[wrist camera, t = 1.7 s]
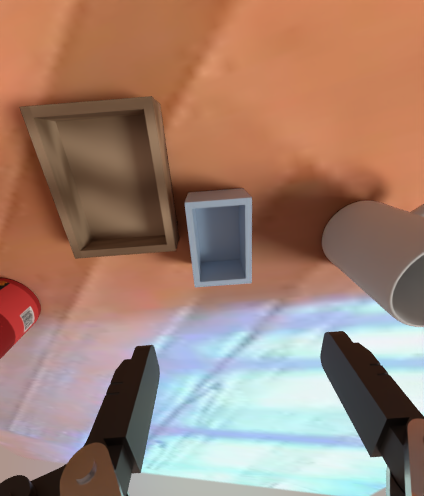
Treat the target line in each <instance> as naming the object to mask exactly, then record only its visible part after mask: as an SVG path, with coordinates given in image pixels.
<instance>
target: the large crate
mask: <svg viewBox="0 0 424 496" xmlns="http://www.w3.org/2000/svg"><path fill="white" fill-rule="evenodd" d="M20 110H21V113H22V116H23V118H24V121H25V124H26V126H27V129H28V132H29V135H30V137H31V140H32V143H33V145H34V148H35V151H36V154H37V156H38V159H39V162H40V164H41V167H42V170H43V173H44V175H45V178H46V181H47V183H48V186H49V189H50V192H51V194H52V197H53V200H54V202H55V205H56V208H57V211H58V213H59V216H60V219H61V221H62V224H63V227H64V230H65V232H66V235H67V238H68V240H69V243H70V246H71V249H72V251H73V254H74V257H75V259H76V258H89V257H102V256H115V255H129V254H142V253H155V252H168V251H176V248H177V245H178V241H179V233H178V226H177V219H176V212H175V205H174V198H173V191H172V184H171V177H170V170H169V163H168V156H167V149H166V142H165V135H164V128H163V121H162V114H161V107H160V104H159V103H158V102H157V101H156V100H155V99H154V98H153V97H152V96H150V97H138V98H125V99H112V100H100V101H87V102H75V103H62V104H49V105H37V106H24V107H20Z"/></svg>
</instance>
